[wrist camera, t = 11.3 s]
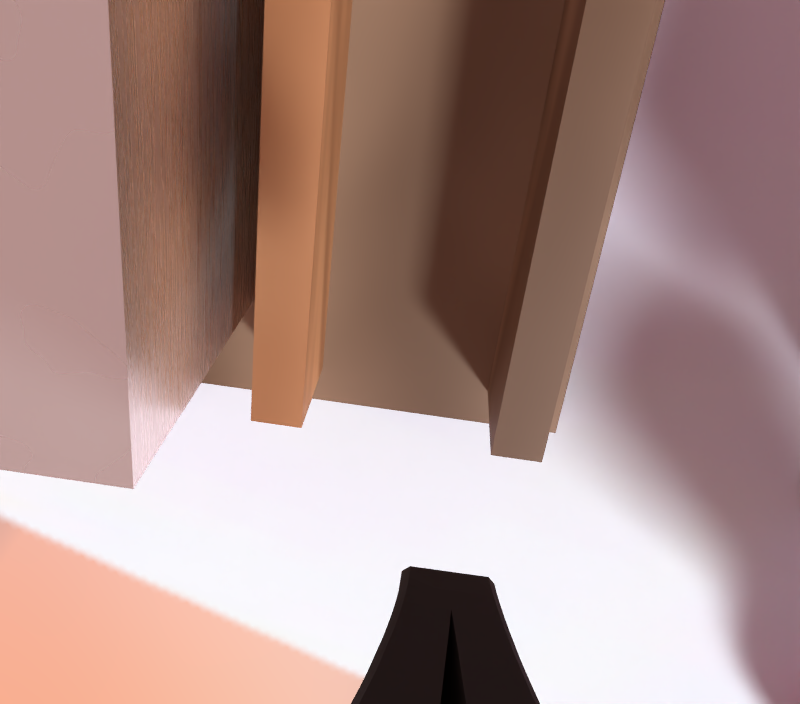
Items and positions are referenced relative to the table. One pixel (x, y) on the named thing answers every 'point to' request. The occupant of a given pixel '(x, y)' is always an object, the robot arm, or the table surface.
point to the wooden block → (120, 221)
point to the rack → (434, 204)
